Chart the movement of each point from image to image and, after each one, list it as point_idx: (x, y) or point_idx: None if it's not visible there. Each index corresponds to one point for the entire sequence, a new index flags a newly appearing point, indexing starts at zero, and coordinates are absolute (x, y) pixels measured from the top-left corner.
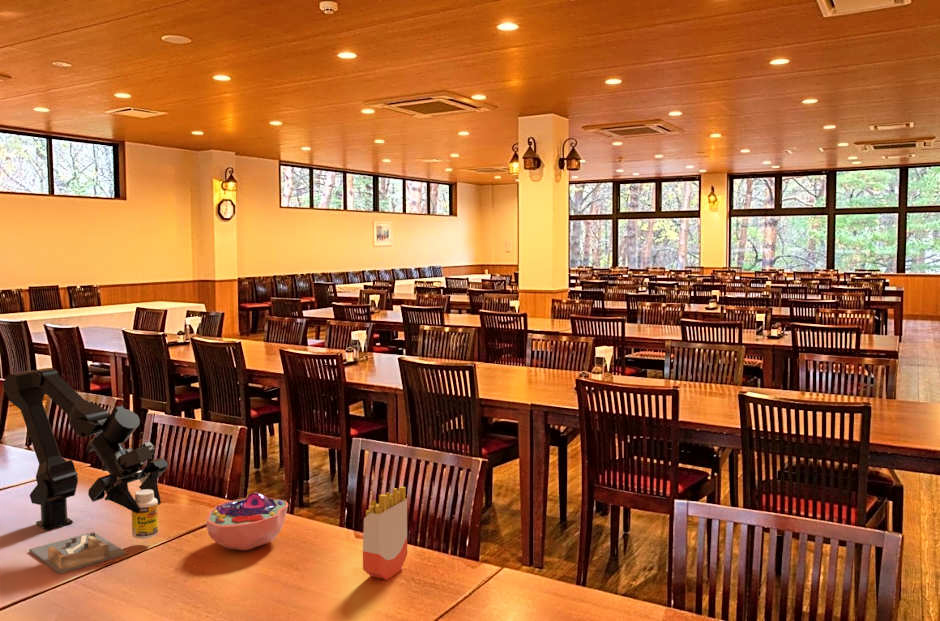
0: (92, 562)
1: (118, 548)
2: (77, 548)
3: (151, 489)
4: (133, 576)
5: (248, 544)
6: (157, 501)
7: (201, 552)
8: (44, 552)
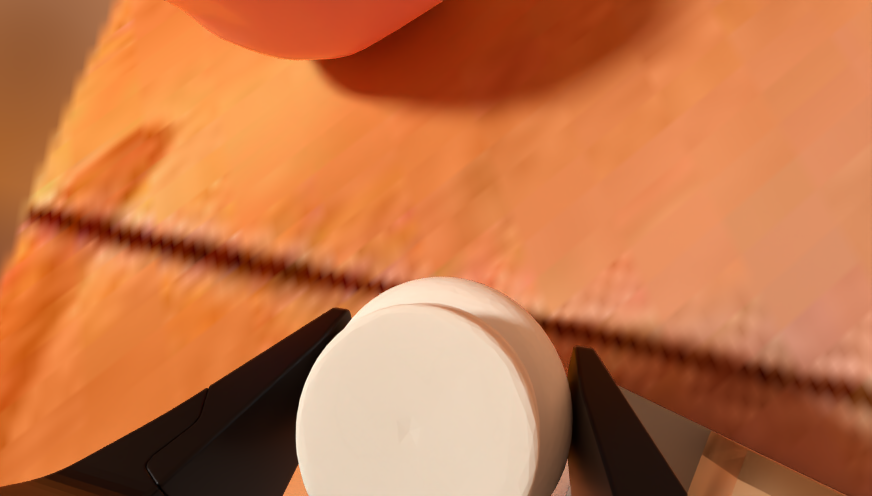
0: (807, 476)
1: None
2: None
3: (239, 457)
4: (813, 160)
5: None
6: (378, 296)
7: (472, 81)
8: None
